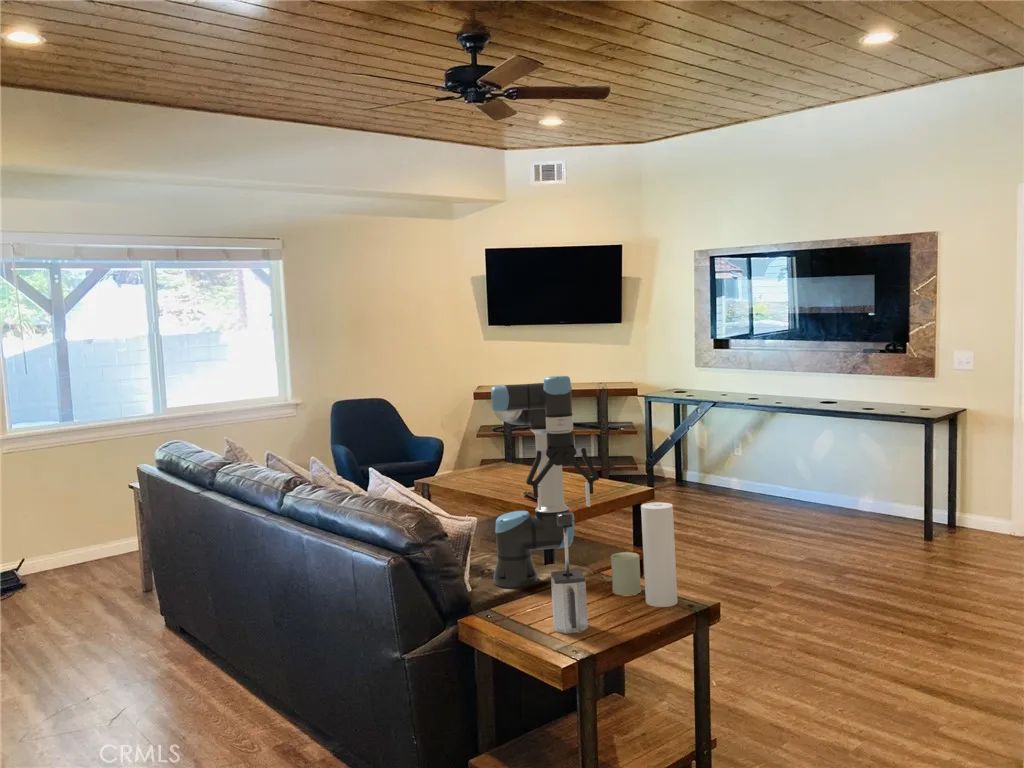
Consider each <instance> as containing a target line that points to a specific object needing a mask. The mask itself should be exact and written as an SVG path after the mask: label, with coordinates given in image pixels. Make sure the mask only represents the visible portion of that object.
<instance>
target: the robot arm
mask: <svg viewBox="0 0 1024 768" xmlns="http://www.w3.org/2000/svg"><path fill="white" fill-rule="evenodd" d="M490 391H491V392H490V394H491V395H490V396H491V398H490V399H491V408H492V411H494V412H493V413H494V415H495V416H496V418H498V419H499V420H500V421H502V422H504V423H507V424H510V425H515V426H529V430H530V431H531V432H532V433H533V434H534V436H535V437H534V438H535V441H534V442H535V459H534V461H533V464H532V466H531V468H530V471H529V474H528V475H527V478H526V480H525V483H526V484H527V485H528V486H532V494H533V498H534V499H537V507H536V508H535V509H534V515H532V514H530V512H529V511H527V510H514V511H510V512H506V513H504V514H503V513H502V514H501V515H500V516H498V517H497V518H496V520H495V537H496V538H495V539H496V555H497V560H496V564H495V569H494V572H493V584H494V585H496V586H497V587H500V588H501V587H502V588H508V589H510V588H515V589H516V588H517V589H518V588H525V587H528V586H532V585H535V584H536V583H537V582H538V580H539V576H538V571H537V569H536V566H535V564H534V560H533V558H532V551H535V550H536V551H537V550H550V549H554V550H555V549H557V550H559V549H565V548H564V530H563V528H561V527H557V514H559V513H572V517H573V526H572V527H567V537H568V548H569V547H571V546H572V543H573V541H574V535H575V515H574V512H571V511H570V508H569V506H567V504H566V503H565V492H564V477H563V466H568V465H570V464H572V466H573V467H574V468H575V469H576V470H577V471H578V472H579V473H580V474H581V475H582V476H583V477H584V479H586V481H585V482H584V488H585V506H586V507H589V508H590V507H591V495H593V494H594V482H595V481H598V480H599V479H600V476H599V475H598V472H597V471H596V469H595V467H594V466H593V463H592V462H591V460H590V458H589V457H588V455H587V449H586V447H583V446H581V447H579V448H575V438H574V432H573V430H574V422H573V421H574V420H573V405H572V404H573V403H572V399H573V398H572V384H571V378H570V376H568V375H555V376H546V377H544V379H543V382H537V383H536V382H535V383H524V384H500V385H494V386H492V387H491V389H490ZM576 454H578V455H579V456H580V457H581V458H582V460H583V461H584V462H585V465H586V466H587V468H588V470H589V471H590V474H591V475H592V476H590V474H588V473H587V472H586V471H585V469H583V468H582V466H580V464H578V462H577V461H576V460H575V459H574V458H575V457H576ZM536 474H537V476H536V477H535V475H536ZM534 477H535V478H534Z"/></svg>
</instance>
